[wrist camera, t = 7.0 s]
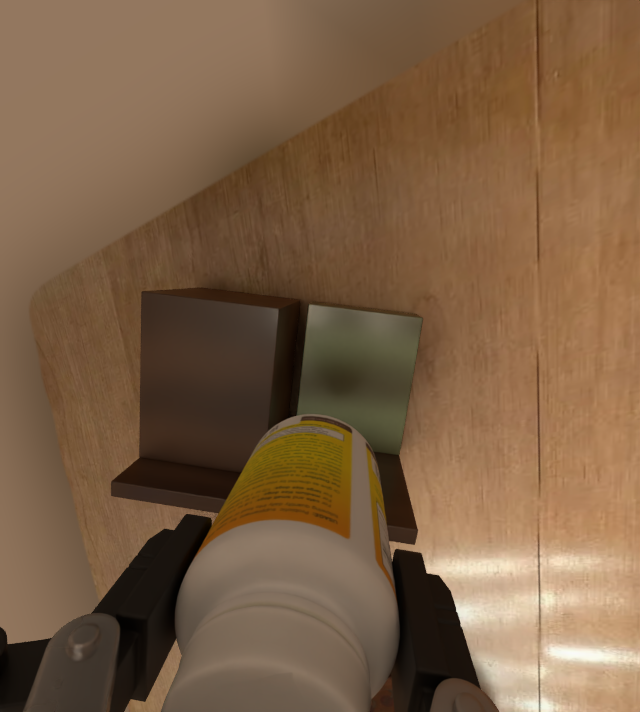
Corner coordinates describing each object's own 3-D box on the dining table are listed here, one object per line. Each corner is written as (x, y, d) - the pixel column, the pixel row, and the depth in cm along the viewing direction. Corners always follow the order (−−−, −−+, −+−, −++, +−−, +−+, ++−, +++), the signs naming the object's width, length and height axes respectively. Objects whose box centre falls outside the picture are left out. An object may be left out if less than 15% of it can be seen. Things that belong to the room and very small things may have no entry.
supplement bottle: (228, 459, 17) (53, 720, 7) (321, 383, 16) (267, 564, 6) (310, 545, 18) (255, 899, 8) (405, 478, 16) (485, 788, 6)
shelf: (200, 287, 32) (109, 293, 20) (416, 313, 30) (455, 336, 19) (194, 421, 34) (110, 496, 22) (393, 450, 33) (415, 545, 21)
